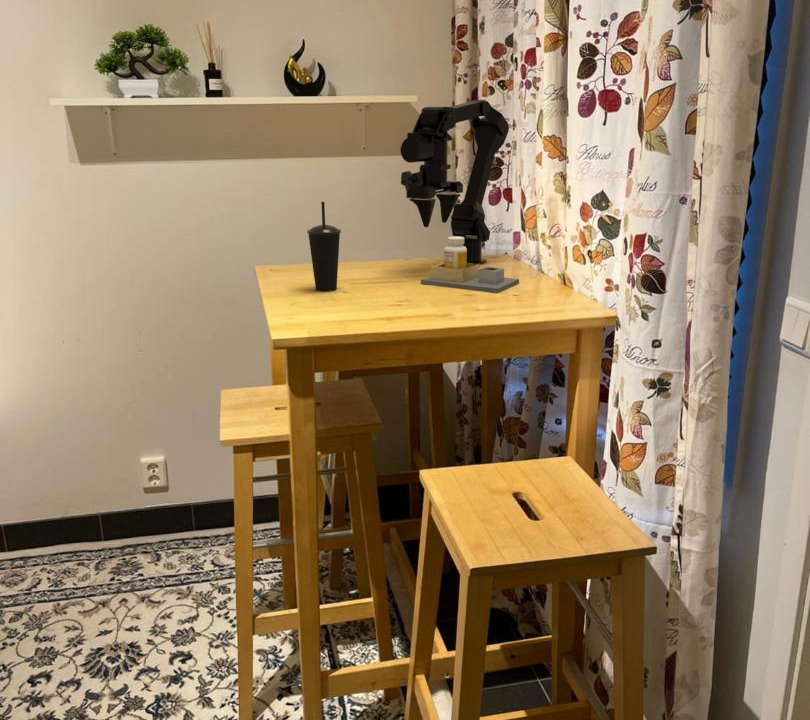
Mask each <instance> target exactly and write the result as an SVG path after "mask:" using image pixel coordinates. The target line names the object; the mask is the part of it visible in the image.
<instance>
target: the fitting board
mask: <svg viewBox="0 0 810 720" xmlns="http://www.w3.org/2000/svg"><path fill="white" fill-rule="evenodd" d="M420 284H421V285H428V286H435V287H436V286H437V287H443V288H444V287H445V288H452V289H461V290H467V291H469V290H470V291H476V292H477V291H478V292H485V293H492V294H493V293H494V294H499V293H501V292H503V291H505V290H508V289H509V288H512V287H514V286H516V285H519V284H520V279H519V278H512V277H504V281H503V282H501V283H498V284H496V285H495V284H486V283H478V277H476V278H474V279H471V280H469V281H466V282H463V283H460V282H451V281H443V280H434V279H431V275H429V276H427V277H424V278H422V279H420Z"/></svg>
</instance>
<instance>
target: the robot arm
mask: <svg viewBox="0 0 810 720" xmlns="http://www.w3.org/2000/svg"><path fill="white" fill-rule="evenodd" d="M468 120H470V127H471V128H472V129H473V131H474V137H473V138H474V140H475V141H474V142H475V144H476V152H475V155H474V160H473V164H472V168H471V171H470V175H469V178H468V183H467V186H466V190H465V195H464V198H463V200H462V201H461V202H460V203H457V201H458V199H459V198H460V197H461V194H462V193H464V183H462V182H461V181H459V180H448V170H451V169H452V168H451V164H448V144H449V143H448V142H449V141H451V142H452V141H453V137H452V136H451V134H449V132H448V131H450V130H452V129H454V128H455V126H456V124H458V123H462V122H465V121H468ZM509 131H510V126H509V123H508V121H507V120H506V118H505V117H504V115H503V114H502V113H501V111H500V112H499V110H497V109H496V108H495V107H493V106H491V104H490V102H489V100H486V99H471V101H468V102H463V103H460V104H455V105H452V106H425V107H422V108H421V112H420V114H419V116H418V118H417V121H416V123H415V125H414V127H413V130H412V132H407V133H406V136H407V137H406V138H405V139H404V140H403V141H402V143H401V146H400V148H399V149H400V155H401V157H402V159H403V161H405V162H406V163H411V164H413V163H423V164H420V166H419V171H418V172H412V171H410V170H408V171H407V170H406V171H403V172H401V174H400V185H402V186H403V187H405V188H404V189H405V191H406V192H405V195H406V196H405V197H406V199H409V201H410V202H412V203H414V205H415V206H416V207H417V210H418V212H419V215H420V218H421V223H422V224H423V227H424V228H429V226H430V223H431V220H432V215H433V212H434V208H435V205H436V204H435V203H436V199H435V196H436V198H437V199H438V200H439V204H440V205H439V207H440V216H441V217H440V218H441V222H442V223H444V224H445V223H447V222H448V220H449V218H450V219H451V220H450V228H451V233H452V237H453V236H459V237H464V244H463V246H465V247H466V248H467V263H473V264H479V265H480V264H482V263H485V262H487V259H484V258H482V251H483V250H482V247H483V244H482V243H484V242H488V241H489V240H490V235H491V230H490V229H489V227H488V226H487V224H486V223H485V220H486V213H485V210H484V207H483V203H484V198H485V194H486V190H487V188H488V182H489V179H490V175H491V171H492V166H493V164H494V160H495V157H496V156H495V155H496V153H497V152H498V151H499V149H500V148H502V147H503V145H504V144H505V142H506V139H507V137H508V133H509Z"/></svg>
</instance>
